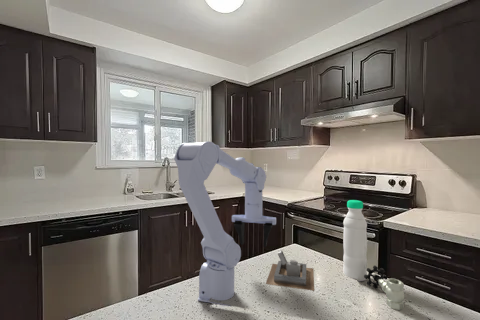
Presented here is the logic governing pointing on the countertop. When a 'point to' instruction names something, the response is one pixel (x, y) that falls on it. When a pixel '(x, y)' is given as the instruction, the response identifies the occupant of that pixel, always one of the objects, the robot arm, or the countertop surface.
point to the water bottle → (355, 242)
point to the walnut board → (284, 272)
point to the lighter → (290, 265)
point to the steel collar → (290, 279)
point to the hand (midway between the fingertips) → (253, 244)
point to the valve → (388, 288)
